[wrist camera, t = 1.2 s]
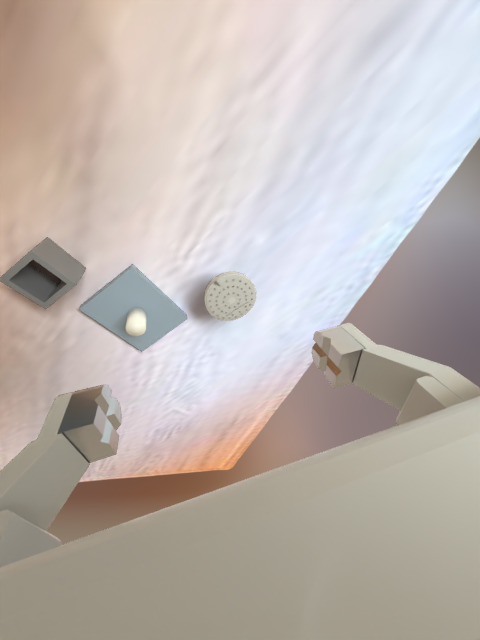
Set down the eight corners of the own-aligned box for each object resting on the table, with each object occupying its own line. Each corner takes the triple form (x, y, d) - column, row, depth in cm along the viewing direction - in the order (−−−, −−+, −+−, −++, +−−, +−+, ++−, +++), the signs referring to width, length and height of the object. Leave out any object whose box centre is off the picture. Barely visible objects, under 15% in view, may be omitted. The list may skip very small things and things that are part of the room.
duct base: (81, 304, 42) (71, 324, 37) (132, 264, 40) (129, 279, 36) (142, 347, 50) (140, 367, 46) (186, 314, 49) (189, 332, 44)
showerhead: (241, 263, 38) (266, 305, 44) (230, 248, 43) (254, 287, 50) (192, 295, 39) (224, 332, 45) (188, 277, 44) (216, 311, 51)
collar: (18, 262, 36) (-3, 279, 31) (47, 237, 35) (30, 250, 30) (59, 290, 39) (45, 309, 35) (86, 268, 39) (76, 284, 34)
